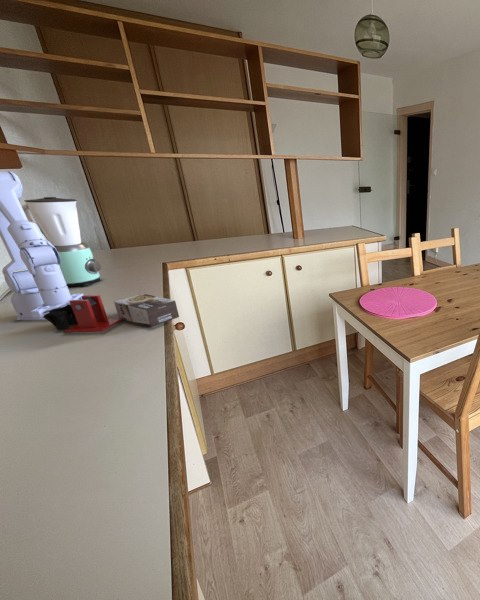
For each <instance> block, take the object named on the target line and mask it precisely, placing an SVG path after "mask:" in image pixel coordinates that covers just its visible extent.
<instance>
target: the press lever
mask: <svg viewBox="0 0 480 600" xmlns="http://www.w3.org/2000/svg"><path fill="white" fill-rule="evenodd" d="M84 300H89V302H90V305H91V306H93V305H95V304H97V303H96V302H95V301H94V300H93V299H92V298H91V297H89V298H87V299H84ZM73 313H74V312H73V309H72V310H70V311H67V320H70V319H71V318H72V316H73V315H72V314H73Z"/></svg>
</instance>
